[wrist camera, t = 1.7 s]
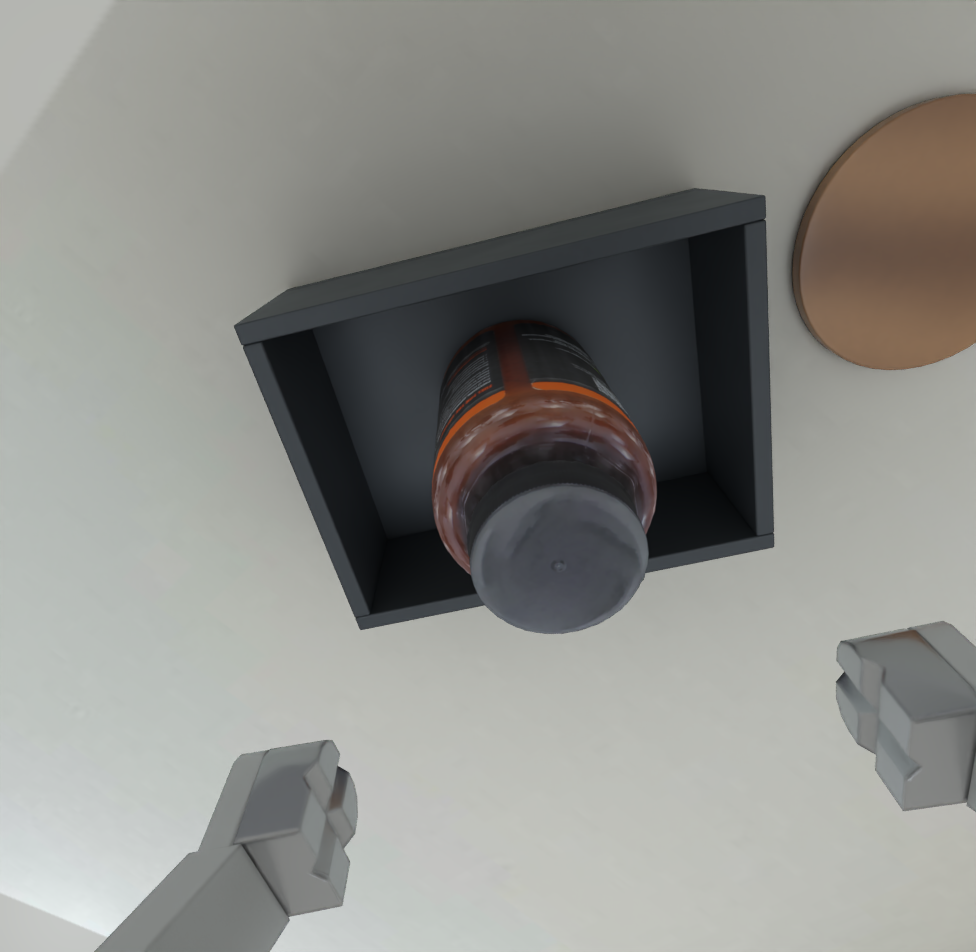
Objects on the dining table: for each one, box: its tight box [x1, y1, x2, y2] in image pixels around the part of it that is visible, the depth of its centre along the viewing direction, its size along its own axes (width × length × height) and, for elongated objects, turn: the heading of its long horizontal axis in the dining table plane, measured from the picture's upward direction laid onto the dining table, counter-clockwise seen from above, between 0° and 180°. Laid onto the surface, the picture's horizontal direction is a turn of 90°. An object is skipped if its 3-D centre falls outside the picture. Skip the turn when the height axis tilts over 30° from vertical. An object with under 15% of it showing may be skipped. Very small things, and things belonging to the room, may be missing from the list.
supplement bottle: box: [432, 320, 657, 634], centre depth 19 cm, size 6×6×11 cm
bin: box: [234, 188, 774, 630], centre depth 22 cm, size 11×15×6 cm
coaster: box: [792, 94, 976, 370], centre depth 22 cm, size 9×9×1 cm
